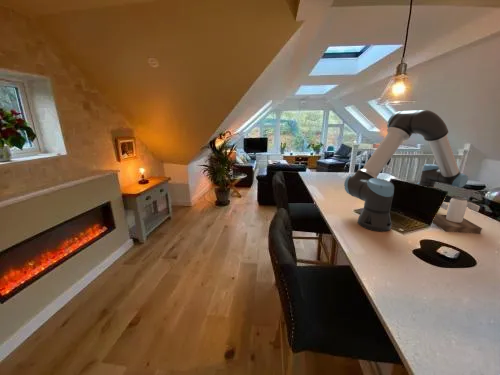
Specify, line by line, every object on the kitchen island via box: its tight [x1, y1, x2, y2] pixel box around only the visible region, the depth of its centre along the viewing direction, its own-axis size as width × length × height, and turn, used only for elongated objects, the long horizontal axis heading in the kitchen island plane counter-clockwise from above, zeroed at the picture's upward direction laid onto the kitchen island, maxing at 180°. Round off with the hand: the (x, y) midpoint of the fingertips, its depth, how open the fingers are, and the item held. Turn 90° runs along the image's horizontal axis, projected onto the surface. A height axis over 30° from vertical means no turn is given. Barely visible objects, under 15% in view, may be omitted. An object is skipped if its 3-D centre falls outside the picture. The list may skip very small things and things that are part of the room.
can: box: [445, 196, 468, 223], centre depth 114 cm, size 6×6×12 cm
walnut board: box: [432, 213, 483, 235], centre depth 116 cm, size 15×15×3 cm
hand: (462, 208), depth 110 cm, fingers open, 13 cm apart
